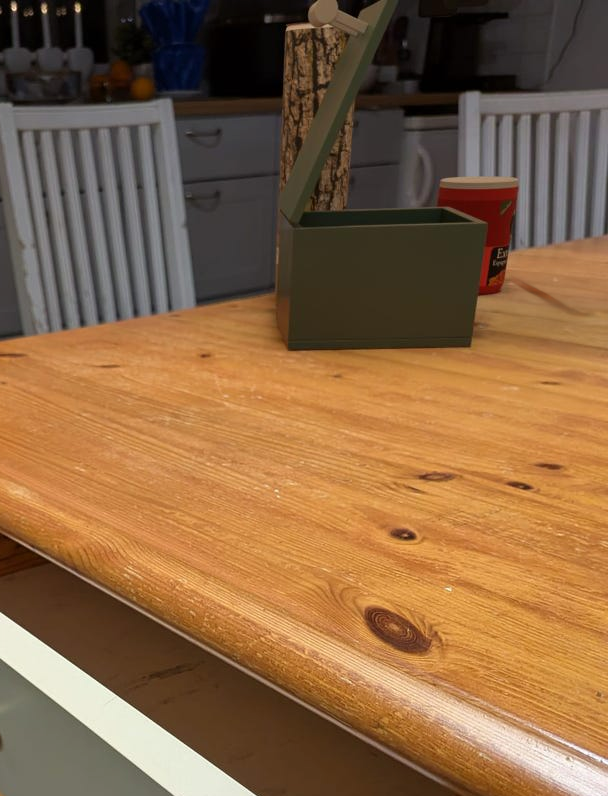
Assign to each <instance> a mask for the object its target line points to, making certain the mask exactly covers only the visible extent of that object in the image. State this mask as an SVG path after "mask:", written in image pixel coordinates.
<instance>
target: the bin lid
mask: <svg viewBox="0 0 608 796" xmlns="http://www.w3.org/2000/svg"><path fill="white" fill-rule="evenodd" d="M398 3H399V0H378V1H377V2H375V3H373V4H371V5H368V6H367V7H366V8H363V9H362V10H360V11H359V14H358V16H357V18H356V17H354V16H352V15H350V14H348V13H346V12H344V11H342V10H339V4H338V1H337V0H317V1H315V2H314V3H313V4H312V5H311V6H310V7H309V10H308V13H307V18H308V22H310V24H311V25H312V26H314V27H317V28H320V27H323V26H324V25H326V24H328V25H331V26H333V27H335V28H337V29H339V30H341V31H343V32H345V33H347V34H349V35H350V37H349V39H348V42H347V44H346V46H345V49H344V51H343V53H342V55H341V58H340V60H339V62H338V65H337V67H336V69H335V72H334V74H333V76H332V78H331V81H330V83H329V85H328V88H327V90H326V92H325V95H324V97H323V99H322V101H321V104H320V106H319V108H318V111H317V113H316V115H315V118H314V120H313V122H312V125H311V127H310V129H309V131H308V134H307V136H306V138H305V141H304V143H303V145H302V148H301V150H300V152H299V154H298V157H297V159H296V161H295V164H294V166H293V168H292V171H291V173H290V175H289V177H288V180H287V182H286V184H285V187H284V189H283V191H282V194H281V196H280V198H279V197H278V200H277V203H276V205H277V207H278V206H279V208H280V209H281V210H282V211H283V213H284V214H285V215H286V216H287V218H288V219H289V220H290V221H292V222H294V223H296V224H299V221H300V219H301V217H302V215H303V212H304V210H305V208H306V206H307V204H308V201H309V199H310V197H311V195H312V192H313V190H314V188H315V186H316V183H317V181H318V179H319V177H320V175H321V172H322V170H323V168H324V166H325V163H326V161H327V159H328V157H329V155H330V152H331V150H332V148H333V146H334V143H335V141H336V139H337V137H338V134H339V132H340V130H341V128H342V126H343V123H344V121H345V119H346V117H347V114H348V112H349V110H350V108H351V106H352V103H353V101H354V99H355V100H356V97H357V94H358V92H359V90H360V88H361V85H362V84H363V81H364V79H365V76H366V74H367V72H368V70H369V68H370V65H371V63H372V60H373V59H374V56H375V54H376V52H377V50H378V48H379V45H380V43H381V41H382V39H383V37H384V34H385V33H386V30H387V27H388V25H389V23H390V21H391V19H392V16H393V15H394V12H395V10H396V8H397V5H398Z"/></svg>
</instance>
